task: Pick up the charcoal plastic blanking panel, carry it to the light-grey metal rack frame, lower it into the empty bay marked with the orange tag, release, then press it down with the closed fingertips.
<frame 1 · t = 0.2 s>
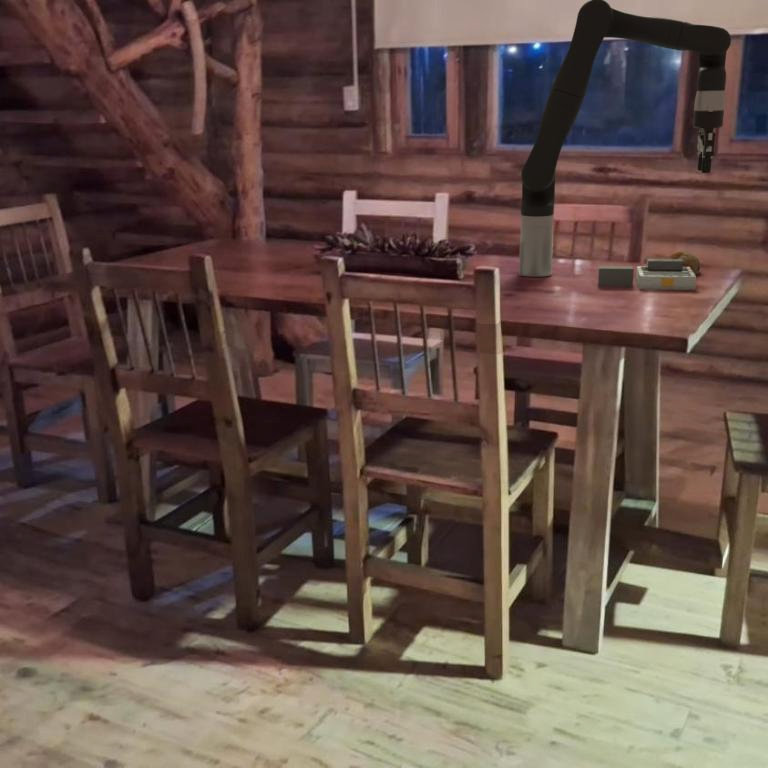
hand: (703, 171, 236), 29 cm above the table, fingers open, 8 cm apart
bread roll: (680, 273, 252), on the table
panel: (615, 285, 237), on the table
rack: (664, 284, 236), on the table
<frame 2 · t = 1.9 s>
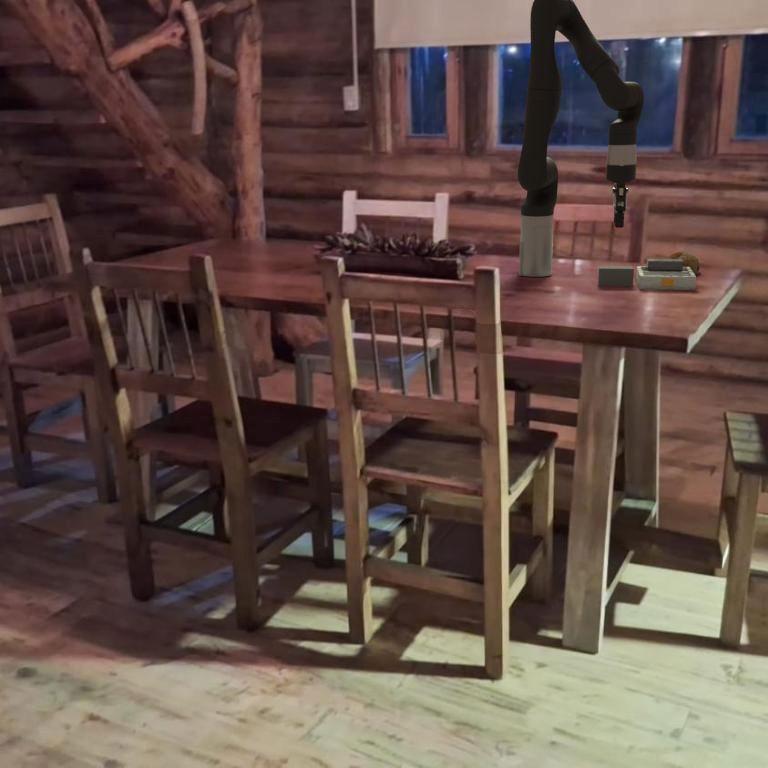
hand: (618, 225, 232), 16 cm above the table, fingers open, 8 cm apart
nothing on the table moved.
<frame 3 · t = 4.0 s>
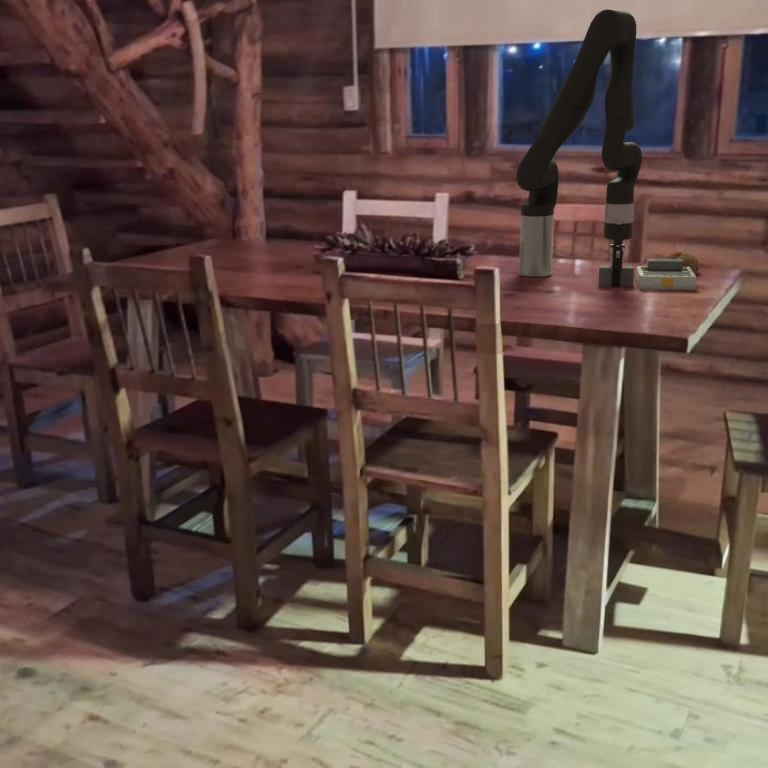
hand: (615, 283, 237), 0 cm above the table, fingers closed on panel, 4 cm apart
panel: (615, 285, 237), on the table, touching gripper
everything else where it was.
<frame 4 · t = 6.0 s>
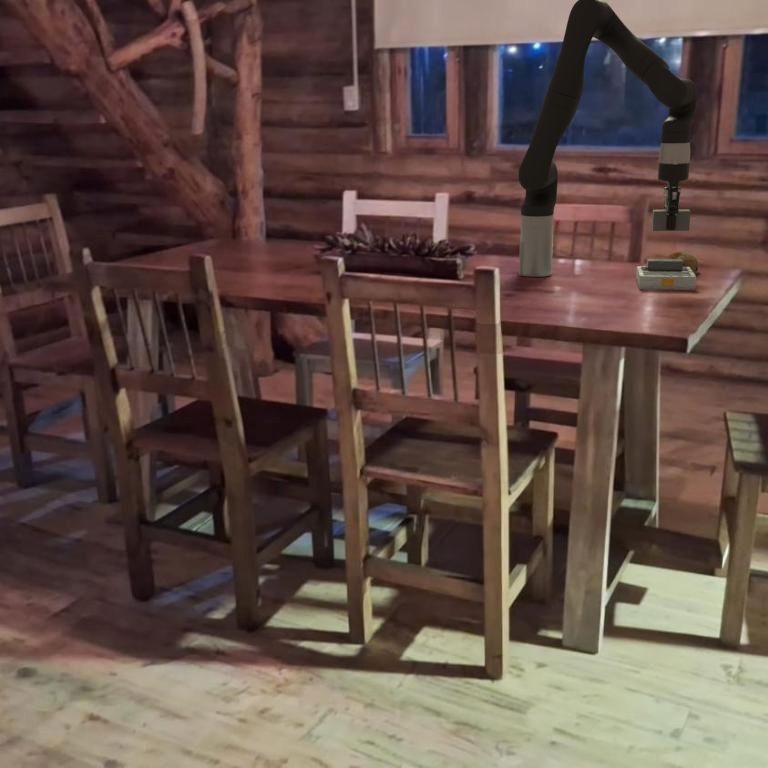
hand: (669, 228, 228), 15 cm above the table, fingers closed on panel, 4 cm apart
panel: (670, 229, 228), point 15 cm above the table, touching gripper
everything else where it was.
when the fingers open (4 cm above the table, at t = 8.5 s): panel drops 2 cm, resting on rack.
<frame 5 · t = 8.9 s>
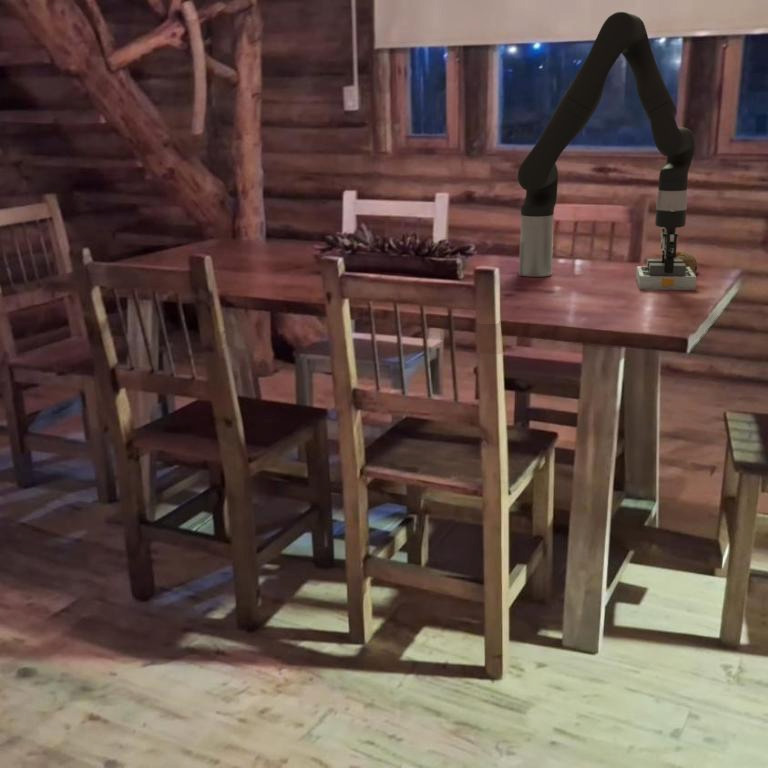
hand: (667, 270, 231), 4 cm above the table, fingers open, 7 cm apart
panel: (666, 283, 233), point 1 cm above the table, touching rack
everything else where it was.
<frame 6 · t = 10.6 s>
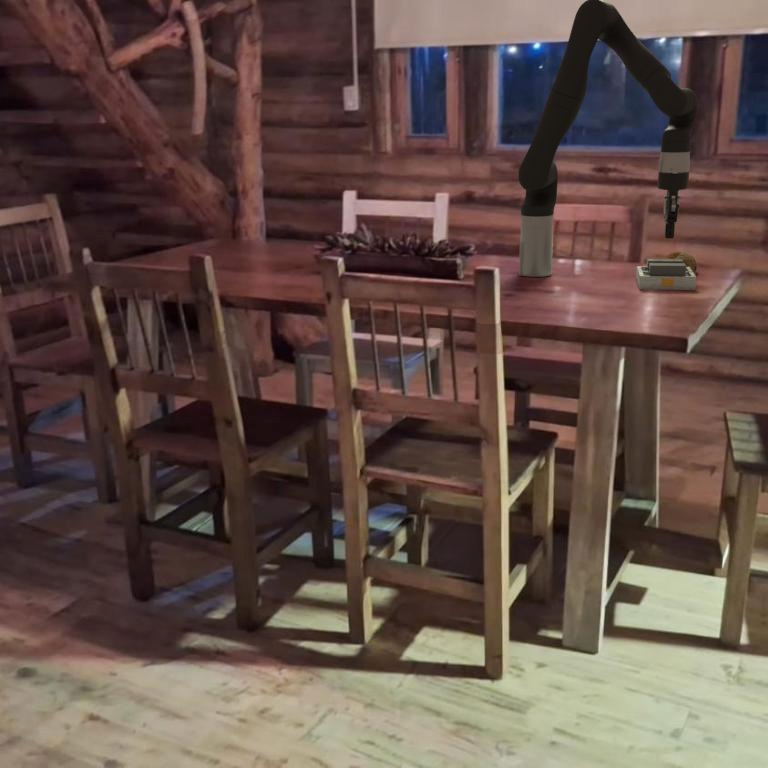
hand: (669, 237, 229), 13 cm above the table, fingers closed
nothing on the table moved.
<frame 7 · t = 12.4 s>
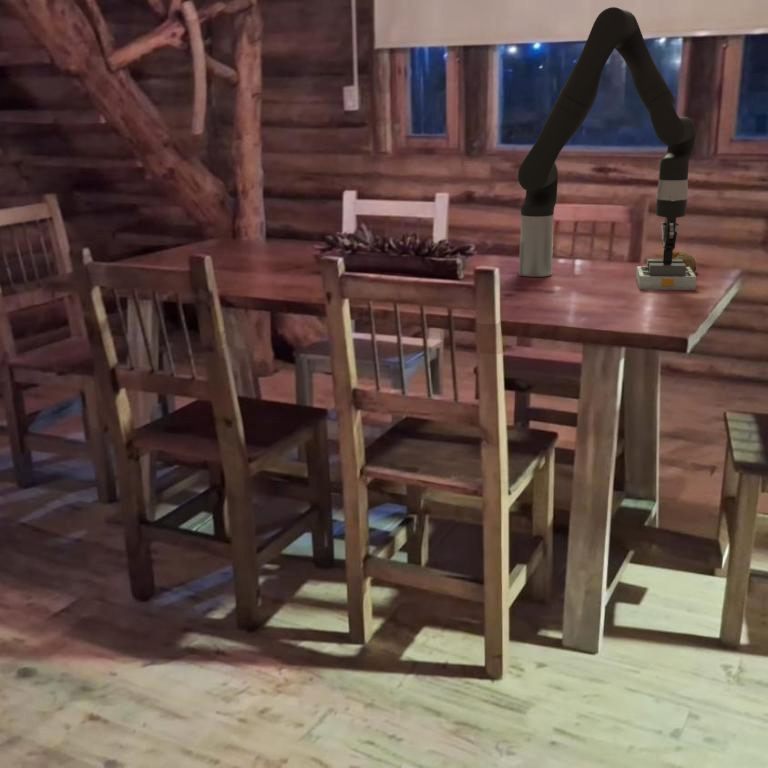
hand: (667, 263, 231), 6 cm above the table, fingers closed
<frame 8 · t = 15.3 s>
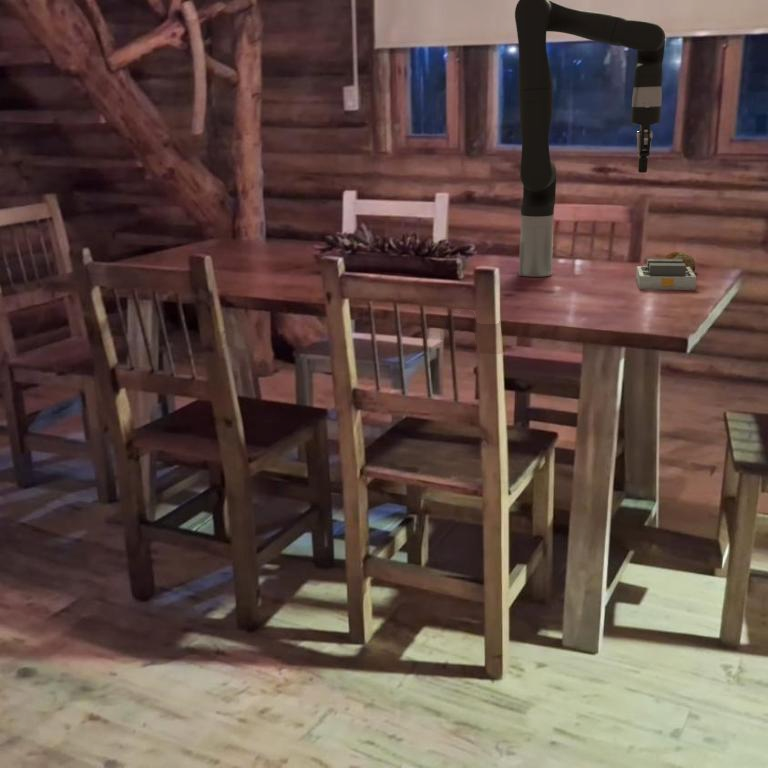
hand: (642, 172, 236), 29 cm above the table, fingers closed
at the end: panel 0.1 cm from the target spot on the rack, point 1.0 cm above the rack's base; panel tilted 0°; the gripper is holding nothing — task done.
